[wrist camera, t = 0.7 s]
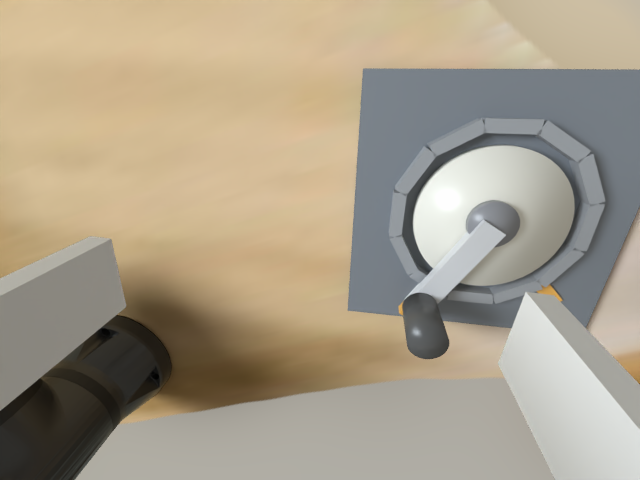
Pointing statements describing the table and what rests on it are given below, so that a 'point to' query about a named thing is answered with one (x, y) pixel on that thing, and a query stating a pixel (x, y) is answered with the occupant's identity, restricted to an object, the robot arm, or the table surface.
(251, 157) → the table surface
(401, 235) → the panel
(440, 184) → the dial
